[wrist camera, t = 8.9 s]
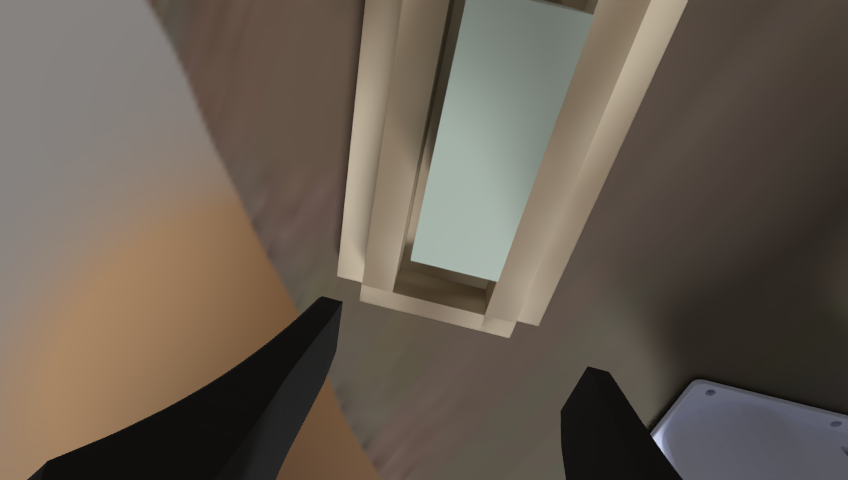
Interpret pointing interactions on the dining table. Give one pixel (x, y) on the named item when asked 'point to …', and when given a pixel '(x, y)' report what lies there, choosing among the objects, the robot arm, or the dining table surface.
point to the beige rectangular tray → (415, 140)
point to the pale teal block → (495, 129)
